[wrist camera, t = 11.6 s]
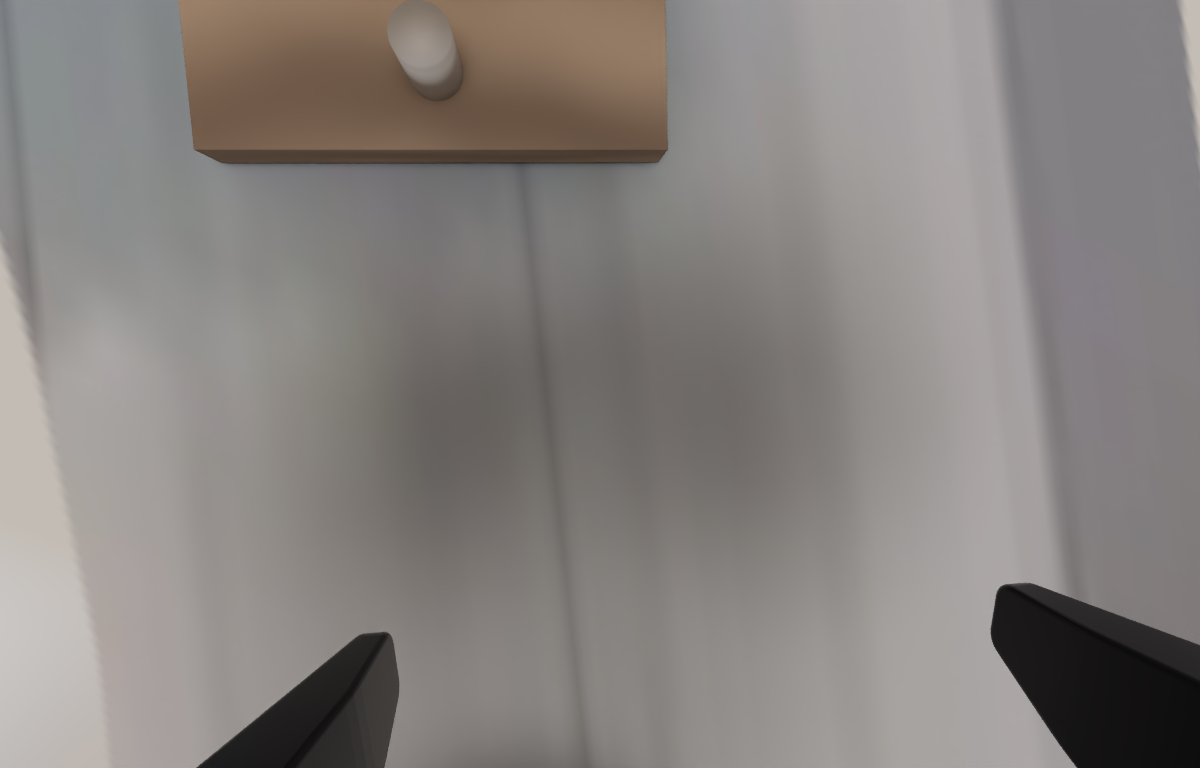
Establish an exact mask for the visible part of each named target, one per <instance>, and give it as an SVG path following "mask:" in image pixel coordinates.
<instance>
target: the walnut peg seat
mask: <svg viewBox="0 0 1200 768" xmlns="http://www.w3.org/2000/svg"><path fill="white" fill-rule="evenodd" d="M179 10H180V19H181V29H182V38H183V48H184V58H185V67H186V77H187V86H188V96H189V106H190V115H191V125H192V134H193V144H194V150H196V151H198V152H200V153H202V154H204V155H206V156H208V157H210V158H212V159H214V160H217V161H219V162H221V163H442V162H658V161H659V160H660V159H661V158H662V156H663V155H664V154H665V152H666V151H667V150H668V141H667V73H666V4H665V0H179Z"/></svg>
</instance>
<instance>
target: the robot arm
mask: <svg viewBox="0 0 1200 768" xmlns="http://www.w3.org/2000/svg"><path fill="white" fill-rule="evenodd" d="M991 638H992V642H993V645H994V647H995V649H996V651H997V652H998V654H999V655H1000V657H1001V658H1002V660H1003V661H1004V663H1005V664H1006V666H1007V667H1008V669H1009V670H1010V672H1011V673H1012V675H1013V676H1014V678H1015V679H1016V681H1017V682H1018V684H1019V685H1020V687H1021V688H1022V690H1023V691H1024V693H1025V694H1026V696H1027V697H1028V699H1029V700H1030V702H1031V703H1032V705H1033V706H1034V708H1035V709H1036V711H1037V712H1038V714H1039V715H1040V717H1041V718H1042V720H1043V721H1044V723H1045V724H1046V726H1047V727H1048V729H1049V730H1050V732H1051V733H1052V734H1053V736H1054V737H1055V739H1056V740H1057V742H1058V743H1059V744H1060V746H1061V747H1062V749H1063V750H1064V751H1065V753H1066V754H1067V755H1068V757H1069V758H1070V759H1071V761H1072V762H1073V763H1074V765H1075V766H1076V767H1077V768H1200V645H1198V644H1195V643H1193V642H1190V641H1187V640H1184V639H1182V638H1179V637H1176V636H1174V635H1171V634H1168V633H1165V632H1163V631H1160V630H1157V629H1155V628H1152V627H1149V626H1146V625H1144V624H1141V623H1138V622H1136V621H1133V620H1130V619H1127V618H1125V617H1122V616H1119V615H1117V614H1114V613H1111V612H1108V611H1106V610H1103V609H1100V608H1097V607H1095V606H1092V605H1089V604H1087V603H1084V602H1081V601H1078V600H1076V599H1073V598H1070V597H1068V596H1065V595H1062V594H1059V593H1057V592H1054V591H1051V590H1049V589H1046V588H1043V587H1040V586H1038V585H1035V584H1032V583H1017V584H1005V585H1003V586H1001V587H1000V588H999V589H998V591H997V594H996V599H995V606H994V612H993V618H992V625H991ZM398 697H399V676H398V670H397V663H396V656H395V650H394V643H393V639H392V637H391V635H390V634H389V633H387V632H379V633H366V634H361V635H359V636H357V637H356V638H355V639H353V640H352V641H351V642H350V643H349V644H347V645H346V646H345V647H344V648H342V649H341V650H340V651H339V652H337V653H336V654H335V655H334V656H333V657H331V658H330V659H329V660H328V661H326V662H325V663H324V664H323V665H322V666H320V667H319V668H318V669H317V670H315V671H314V672H313V673H312V674H311V675H309V676H308V677H307V678H306V679H304V680H303V681H302V682H301V683H300V684H298V685H297V686H296V687H295V688H293V689H292V690H291V691H290V692H289V693H287V694H286V695H285V696H284V697H282V698H281V699H280V700H279V701H277V702H276V703H275V704H274V705H273V706H271V707H270V708H269V709H268V710H266V711H265V712H264V713H263V714H262V715H260V716H259V717H258V718H257V719H255V720H254V721H253V722H252V723H251V724H249V725H248V726H247V727H246V728H244V729H243V730H242V731H241V732H240V733H238V734H237V735H236V736H235V737H233V738H232V739H231V740H230V741H228V742H227V743H226V744H225V745H224V746H222V747H221V748H220V749H219V750H217V751H216V752H215V753H214V754H213V755H211V756H210V757H209V758H208V759H206V760H205V761H204V762H203V763H202V764H200V765H199V766H198V767H197V768H384V767H385V762H386V757H387V752H388V747H389V742H390V737H391V732H392V727H393V722H394V717H395V712H396V707H397V702H398Z"/></svg>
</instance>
